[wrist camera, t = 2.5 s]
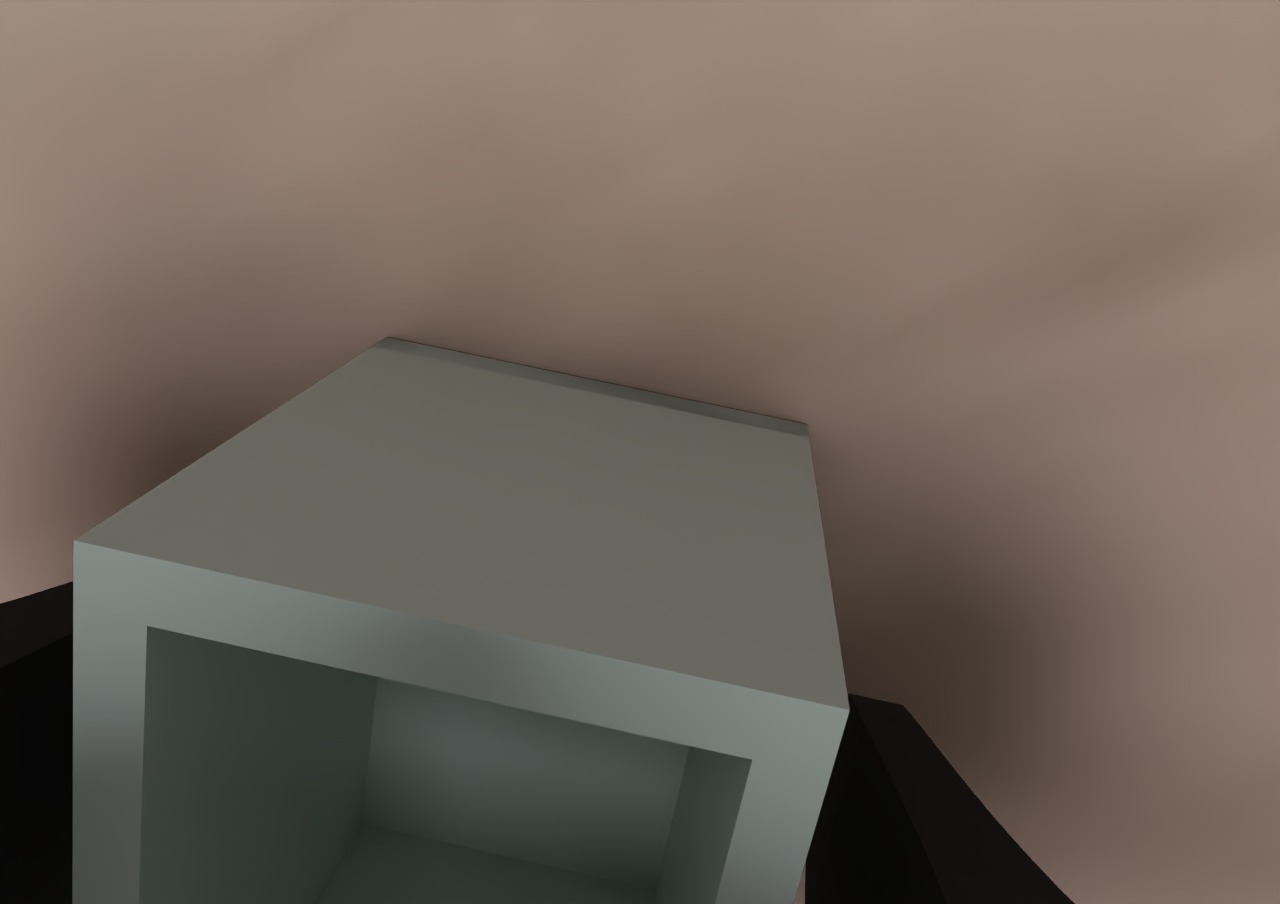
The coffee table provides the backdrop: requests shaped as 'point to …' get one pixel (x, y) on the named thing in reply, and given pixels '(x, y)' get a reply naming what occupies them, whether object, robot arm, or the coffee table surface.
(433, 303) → the coffee table surface
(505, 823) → the green crate
